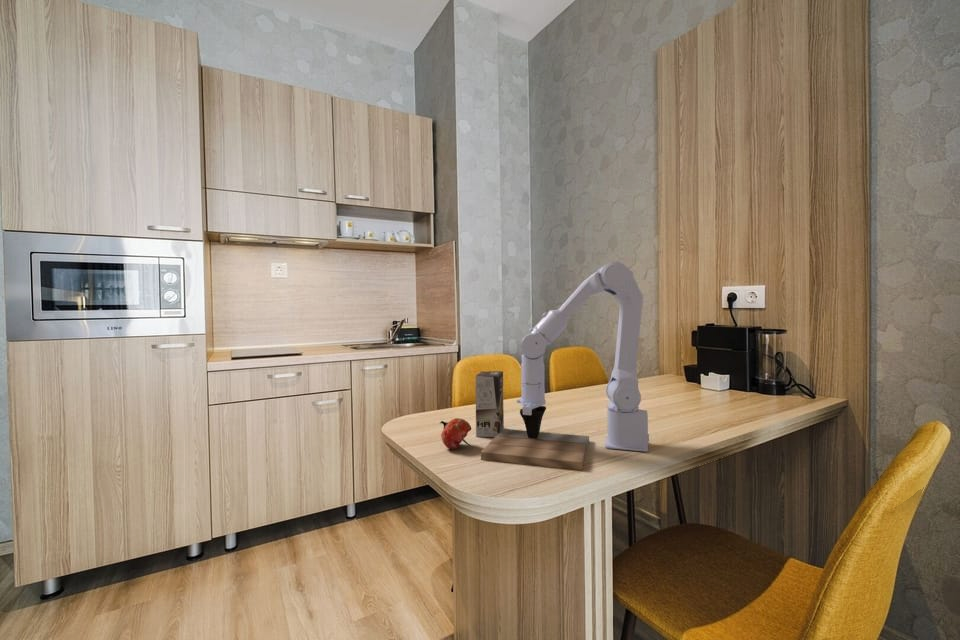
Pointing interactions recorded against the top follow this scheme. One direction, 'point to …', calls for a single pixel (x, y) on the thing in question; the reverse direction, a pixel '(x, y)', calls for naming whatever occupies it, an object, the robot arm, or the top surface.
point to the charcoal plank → (546, 436)
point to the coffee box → (489, 403)
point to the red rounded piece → (455, 432)
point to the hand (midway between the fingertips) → (533, 437)
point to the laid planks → (536, 452)
